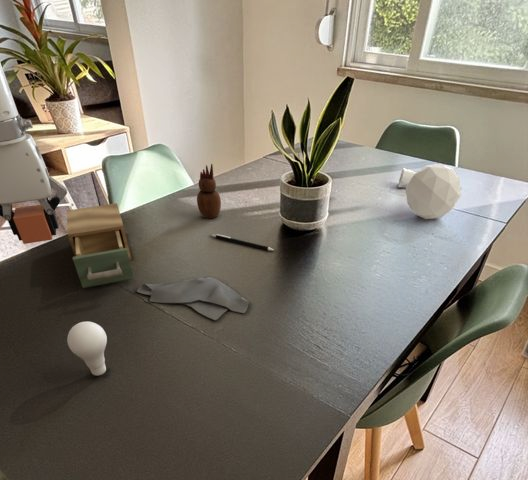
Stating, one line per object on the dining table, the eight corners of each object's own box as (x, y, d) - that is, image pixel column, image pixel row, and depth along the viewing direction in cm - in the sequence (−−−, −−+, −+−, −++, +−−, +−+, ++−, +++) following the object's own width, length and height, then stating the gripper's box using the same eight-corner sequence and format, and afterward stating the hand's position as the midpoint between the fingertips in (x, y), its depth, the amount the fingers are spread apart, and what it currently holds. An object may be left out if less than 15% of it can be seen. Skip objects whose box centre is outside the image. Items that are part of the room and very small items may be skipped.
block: (23, 244, 78) (12, 218, 75) (25, 232, 82) (15, 207, 79) (52, 239, 80) (43, 214, 76) (53, 228, 83) (44, 203, 80)
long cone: (458, 200, 137) (398, 189, 139) (456, 194, 142) (397, 184, 144) (465, 182, 134) (403, 171, 136) (462, 177, 139) (403, 166, 141)
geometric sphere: (428, 238, 125) (436, 211, 111) (393, 206, 130) (396, 175, 116) (466, 207, 125) (479, 175, 110) (429, 175, 129) (437, 141, 115)
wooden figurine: (225, 214, 127) (221, 162, 117) (214, 222, 123) (209, 168, 113) (207, 210, 130) (201, 158, 120) (195, 217, 126) (188, 164, 116)
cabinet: (131, 259, 107) (123, 225, 101) (79, 269, 104) (67, 234, 98) (125, 235, 118) (117, 203, 112) (77, 243, 115) (66, 210, 109)
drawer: (136, 289, 95) (129, 260, 91) (83, 299, 93) (73, 270, 88) (127, 252, 109) (120, 225, 104) (80, 260, 106) (71, 232, 101)
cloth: (262, 293, 95) (262, 285, 93) (231, 327, 86) (230, 318, 84) (168, 267, 104) (167, 259, 103) (131, 295, 95) (128, 287, 94)
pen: (213, 236, 117) (212, 232, 116) (275, 251, 110) (275, 247, 109) (211, 237, 116) (210, 233, 115) (273, 252, 109) (273, 248, 108)
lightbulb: (80, 367, 78) (61, 319, 70) (115, 358, 79) (99, 310, 72) (83, 390, 73) (63, 341, 66) (120, 379, 75) (103, 331, 68)
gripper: (54, 119, 73) (84, 220, 85) (-57, 129, 69) (-9, 233, 81) (53, 130, 68) (86, 236, 80) (-68, 142, 64) (-14, 251, 76)
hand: (38, 233), depth 81 cm, fingers closed on block, 5 cm apart
